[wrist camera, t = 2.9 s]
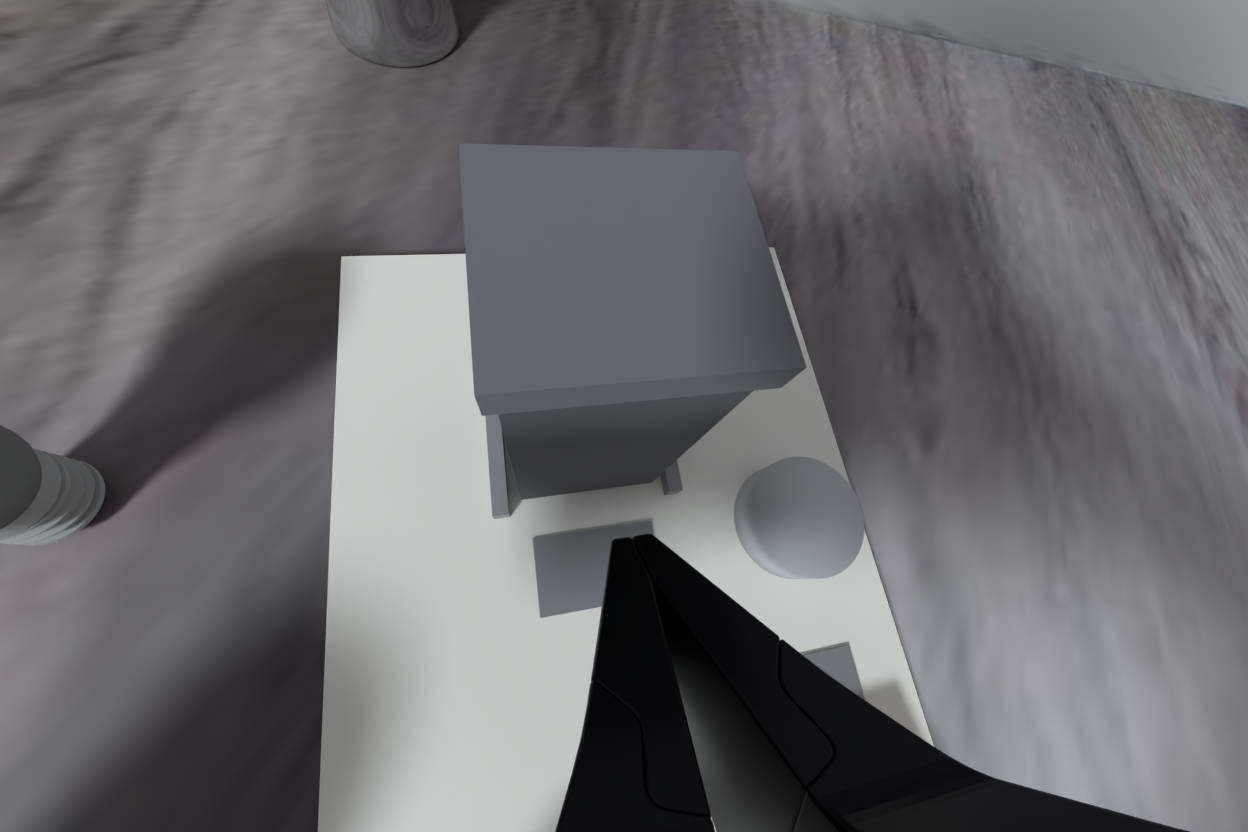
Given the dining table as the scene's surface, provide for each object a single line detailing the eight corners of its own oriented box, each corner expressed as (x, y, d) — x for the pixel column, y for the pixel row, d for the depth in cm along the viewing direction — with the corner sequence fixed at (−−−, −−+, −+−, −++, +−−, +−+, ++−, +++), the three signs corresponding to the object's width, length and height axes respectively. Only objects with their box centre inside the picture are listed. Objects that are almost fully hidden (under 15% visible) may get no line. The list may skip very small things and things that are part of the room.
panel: (1007, 1064, 13) (1115, 1177, 11) (319, 1406, 9) (239, 1705, 7) (762, 264, 22) (790, 223, 19) (353, 276, 18) (323, 227, 16)
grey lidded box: (658, 487, 16) (806, 367, 7) (515, 506, 15) (474, 395, 6) (636, 373, 17) (738, 150, 8) (504, 384, 16) (458, 143, 7)
